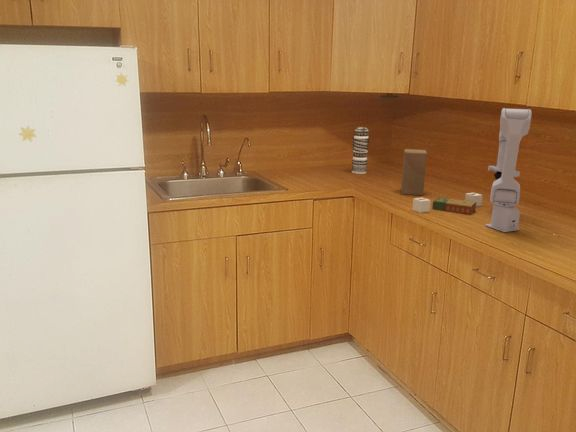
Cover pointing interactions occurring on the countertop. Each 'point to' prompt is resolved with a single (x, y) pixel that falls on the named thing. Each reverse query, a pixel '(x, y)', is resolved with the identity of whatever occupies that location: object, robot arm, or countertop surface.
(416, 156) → the wooden block
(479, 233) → the countertop surface
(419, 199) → the number block 1
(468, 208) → the carton
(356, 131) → the decorative candle
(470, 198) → the number block 7
